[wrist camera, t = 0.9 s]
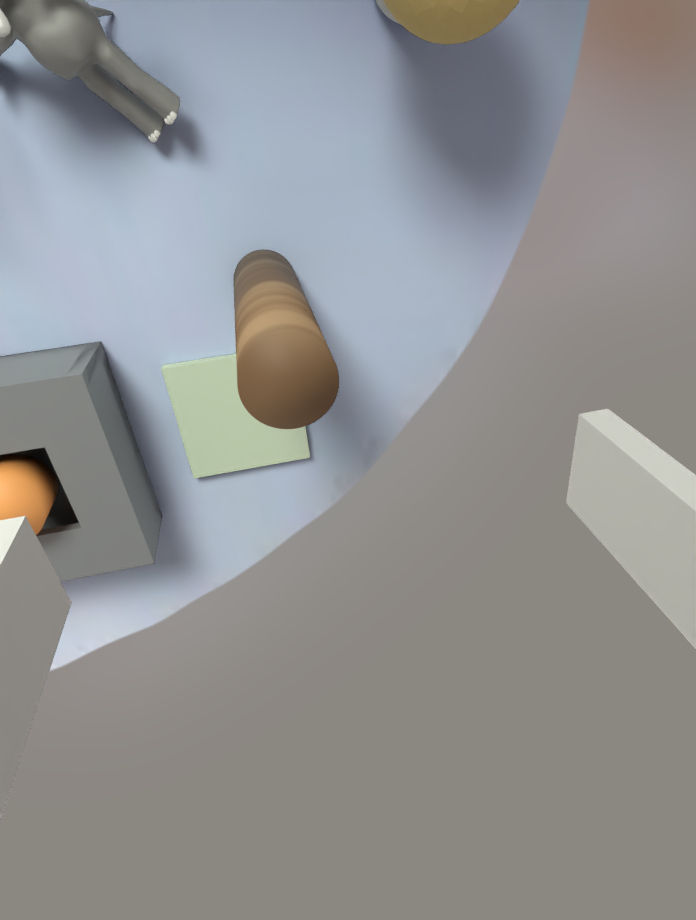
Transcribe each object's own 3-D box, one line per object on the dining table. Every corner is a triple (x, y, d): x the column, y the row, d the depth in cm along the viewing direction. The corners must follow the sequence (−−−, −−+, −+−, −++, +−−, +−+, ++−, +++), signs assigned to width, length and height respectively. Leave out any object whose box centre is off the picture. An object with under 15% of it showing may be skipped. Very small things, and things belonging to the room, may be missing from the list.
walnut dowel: (227, 254, 31) (227, 343, 18) (290, 245, 31) (333, 327, 19) (240, 316, 33) (248, 436, 20) (299, 308, 33) (343, 420, 21)
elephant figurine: (105, 212, 29) (-108, 81, 22) (128, 121, 31) (-65, -26, 24) (221, 118, 23) (-29, -104, 16) (243, 9, 24) (23, -233, 18)
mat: (162, 365, 33) (161, 368, 33) (292, 344, 34) (293, 348, 34) (194, 473, 38) (193, 478, 37) (309, 453, 39) (310, 457, 38)
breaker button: (-32, 461, 31) (-55, 491, 28) (42, 448, 31) (26, 477, 29) (-1, 517, 33) (-20, 550, 30) (68, 504, 33) (55, 536, 31)
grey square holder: (-119, 374, 31) (-174, 413, 27) (100, 341, 32) (81, 374, 28) (-15, 550, 38) (-45, 603, 34) (162, 517, 39) (154, 565, 35)
